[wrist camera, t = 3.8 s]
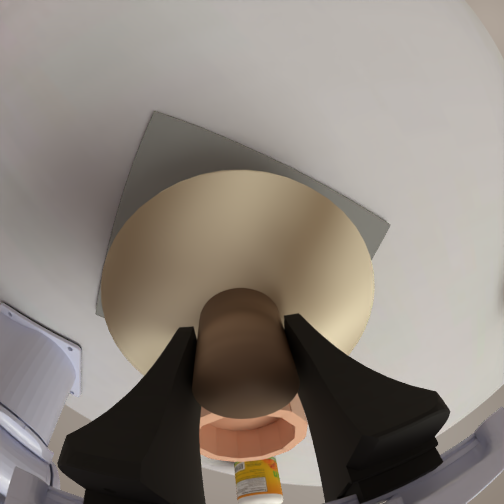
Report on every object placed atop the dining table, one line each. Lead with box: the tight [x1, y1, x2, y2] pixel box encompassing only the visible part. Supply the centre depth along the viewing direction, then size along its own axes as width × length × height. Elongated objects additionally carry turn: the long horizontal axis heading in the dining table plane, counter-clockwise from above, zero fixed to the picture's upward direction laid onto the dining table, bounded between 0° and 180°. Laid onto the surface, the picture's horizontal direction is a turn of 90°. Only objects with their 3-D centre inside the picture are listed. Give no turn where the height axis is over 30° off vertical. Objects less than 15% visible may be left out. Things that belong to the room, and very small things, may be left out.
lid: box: [101, 170, 375, 419], centre depth 10 cm, size 13×13×5 cm
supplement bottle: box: [234, 456, 283, 504], centre depth 23 cm, size 5×5×10 cm
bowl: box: [199, 393, 308, 462], centre depth 20 cm, size 10×10×4 cm
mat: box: [96, 111, 390, 318], centre depth 17 cm, size 16×14×1 cm
